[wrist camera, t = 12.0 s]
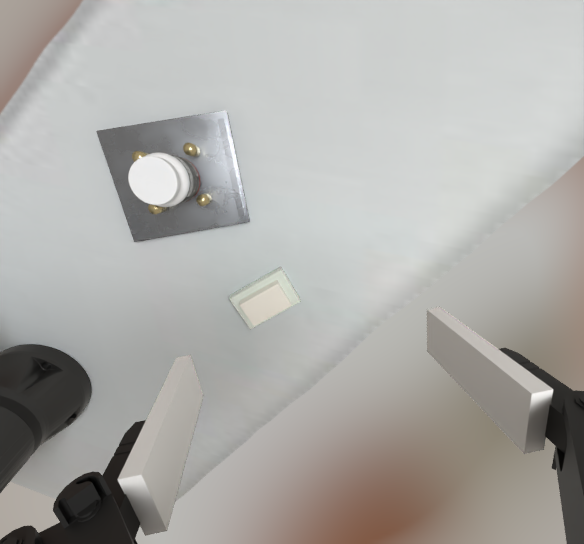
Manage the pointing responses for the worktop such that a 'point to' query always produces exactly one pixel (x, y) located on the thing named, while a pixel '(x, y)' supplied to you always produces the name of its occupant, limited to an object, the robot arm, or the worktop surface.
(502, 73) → the worktop surface
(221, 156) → the plate
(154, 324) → the worktop surface
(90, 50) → the worktop surface
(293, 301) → the soap dish
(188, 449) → the robot arm
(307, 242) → the worktop surface
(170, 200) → the pill bottle
